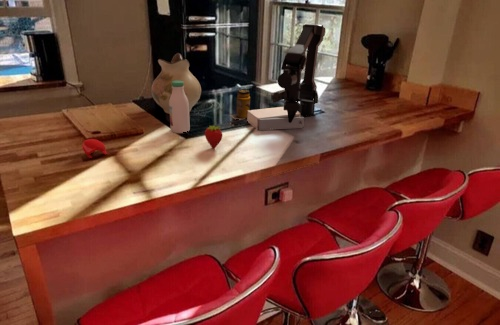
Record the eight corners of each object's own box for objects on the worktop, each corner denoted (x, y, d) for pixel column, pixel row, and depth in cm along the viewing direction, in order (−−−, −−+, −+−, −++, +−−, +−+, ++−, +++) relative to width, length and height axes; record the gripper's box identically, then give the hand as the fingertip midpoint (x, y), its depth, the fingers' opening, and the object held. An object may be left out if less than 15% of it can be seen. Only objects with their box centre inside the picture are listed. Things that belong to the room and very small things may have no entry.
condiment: (253, 117, 170) (254, 91, 165) (237, 120, 166) (237, 94, 160) (244, 113, 175) (245, 87, 170) (229, 116, 171) (229, 90, 166)
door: (302, 127, 159) (303, 116, 157) (303, 128, 157) (304, 118, 155) (257, 129, 155) (257, 118, 153) (258, 131, 153) (258, 120, 151)
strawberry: (215, 143, 142) (215, 117, 137) (226, 149, 136) (226, 123, 132) (201, 146, 138) (200, 120, 134) (212, 153, 133) (211, 126, 129)
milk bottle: (193, 128, 155) (191, 80, 147) (184, 134, 148) (181, 84, 140) (176, 126, 157) (173, 78, 149) (167, 132, 151) (163, 82, 142)
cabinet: (287, 116, 172) (288, 106, 170) (299, 124, 163) (300, 113, 161) (247, 121, 165) (247, 110, 163) (257, 129, 156) (258, 118, 153)
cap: (79, 152, 123) (94, 143, 123) (78, 140, 127) (93, 131, 127) (96, 165, 129) (110, 155, 129) (94, 153, 133) (108, 144, 133)
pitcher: (168, 121, 162) (165, 62, 152) (143, 108, 178) (138, 54, 168) (211, 112, 176) (210, 57, 165) (183, 101, 192) (181, 50, 181)
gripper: (273, 79, 158) (271, 115, 164) (271, 87, 141) (269, 127, 147) (300, 80, 157) (296, 117, 163) (301, 89, 140) (298, 129, 146)
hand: (290, 122), depth 155 cm, fingers closed
